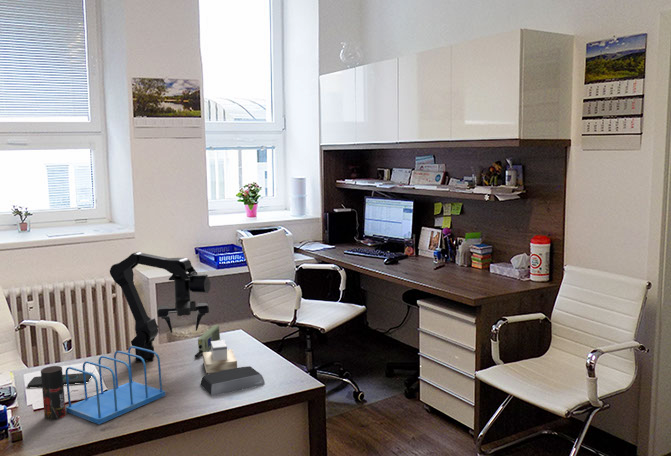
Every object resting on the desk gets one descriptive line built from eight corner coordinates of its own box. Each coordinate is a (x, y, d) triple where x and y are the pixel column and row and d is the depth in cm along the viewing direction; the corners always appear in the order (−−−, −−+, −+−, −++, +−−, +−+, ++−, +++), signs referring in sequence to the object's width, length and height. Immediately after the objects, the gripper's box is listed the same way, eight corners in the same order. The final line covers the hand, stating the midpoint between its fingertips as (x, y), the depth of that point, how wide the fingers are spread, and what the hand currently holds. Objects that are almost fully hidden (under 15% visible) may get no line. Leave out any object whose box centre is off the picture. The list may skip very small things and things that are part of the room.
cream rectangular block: (206, 375, 221) (206, 364, 221) (203, 362, 234) (202, 352, 234) (237, 371, 224) (236, 361, 224) (232, 359, 237) (231, 349, 237)
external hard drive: (266, 385, 212) (265, 374, 211) (211, 398, 202) (211, 386, 201) (251, 374, 223) (251, 363, 222) (199, 385, 213) (198, 374, 213)
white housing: (213, 361, 224) (212, 347, 223) (211, 354, 232) (210, 341, 231) (227, 359, 226) (227, 346, 225) (224, 352, 233) (224, 339, 233)
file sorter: (132, 386, 213) (129, 343, 211) (166, 396, 203) (163, 352, 201) (65, 412, 193) (61, 365, 191) (99, 425, 183) (95, 376, 181)
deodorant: (48, 412, 192) (45, 366, 190) (68, 411, 193) (64, 365, 191) (41, 420, 186) (37, 373, 184) (61, 419, 187) (57, 372, 185)
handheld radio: (221, 339, 263) (200, 359, 238) (214, 339, 264) (192, 359, 239) (220, 324, 262) (199, 342, 238) (212, 324, 263) (190, 343, 238)
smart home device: (87, 380, 216) (26, 384, 212) (88, 384, 216) (27, 389, 212) (92, 371, 224) (34, 376, 220) (93, 376, 224) (34, 380, 221)
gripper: (156, 298, 222) (158, 340, 224) (209, 294, 227) (210, 335, 230) (156, 291, 233) (158, 331, 235) (206, 288, 238) (208, 327, 240)
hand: (184, 331), depth 235 cm, fingers open, 9 cm apart
